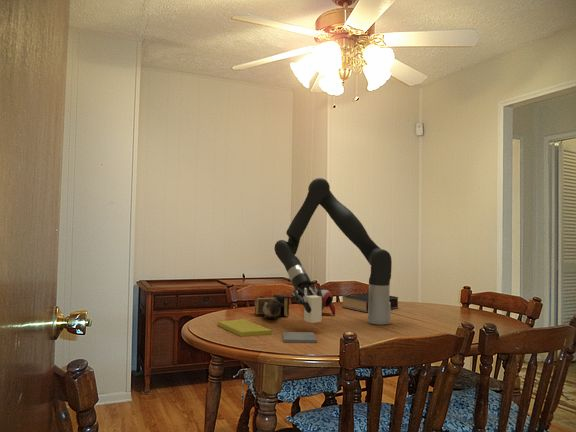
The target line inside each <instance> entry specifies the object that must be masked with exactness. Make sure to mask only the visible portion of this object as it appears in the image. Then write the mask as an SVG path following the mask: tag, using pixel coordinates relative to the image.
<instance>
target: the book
mask: <svg viewBox="0 0 576 432" xmlns="http://www.w3.org/2000/svg"><path fill="white" fill-rule="evenodd" d="M389 302H390V303H391V310H393V309H398V308H399V306H398V304H399V297H398V296H394V295H389ZM368 303H369V293H361V294H351V295H349V294H347V295H342V306H341V307H342V308H345V309H348V310H355V311H359V312H363V313H368Z"/></svg>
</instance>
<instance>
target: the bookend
mask: <svg viewBox="0 0 576 432" xmlns="http://www.w3.org/2000/svg"><path fill="white" fill-rule="evenodd" d="M253 301H254V313H255V315H263V317H264V318H265V319H267V320H275V319H277V318H278V317H280V316H281V317H285V316H286V317H289V315H290V313H289V311H290V298H289V296H288V295H282V294H273V297H265V296H262V295H260V296H259V297H258V298H255V299H254V300H253Z"/></svg>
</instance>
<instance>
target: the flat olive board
mask: <svg viewBox="0 0 576 432" xmlns="http://www.w3.org/2000/svg"><path fill="white" fill-rule="evenodd" d="M217 326H218V327H219V328H220V327H221V329H225V330H227V331H228V332H230V333H233V334H235V335H237V336H239V337H252V336H253V337H256V336H270V335H273V330H272V329H270V328H268V327H265V326H263V325H259V324H257V323H254V322H252V321H250V320H246V319H244V318H240V319H231V320H221V321H217Z"/></svg>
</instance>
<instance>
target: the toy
mask: <svg viewBox="0 0 576 432" xmlns="http://www.w3.org/2000/svg"><path fill="white" fill-rule="evenodd" d="M321 293H322V296H323V300H322V306H323V310H324V309H325V308H328V307H329V309H330V311H331V314H332V316H334V317H335V316H336V308H335V307H336V306H335V304H334V303H333V299H334V295H333V294H332V292H331V291H330V290H327V289H321Z"/></svg>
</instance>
